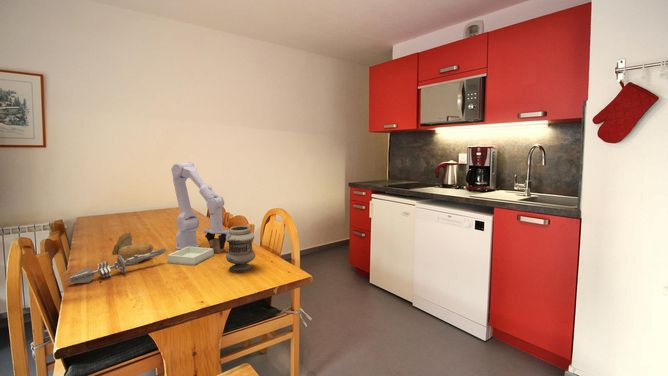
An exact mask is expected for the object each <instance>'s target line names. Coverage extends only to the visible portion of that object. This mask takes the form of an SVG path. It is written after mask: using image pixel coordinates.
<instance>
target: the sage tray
mask: <svg viewBox="0 0 668 376" xmlns="http://www.w3.org/2000/svg"><path fill="white" fill-rule="evenodd" d="M214 254H215V253H214V252H213V248H210V247H201V246H199V247H190V246H188V247H186V248H183V249H178V250H176V251H173V252H171V253H169V254H167V255H166V257H167V258H166V260H167V263H168V264H176V265H177V264H179V265H186V266H197V265H198V264H200V263H202V262H203V261H206V260H208V259H210V258H212V257H214Z"/></svg>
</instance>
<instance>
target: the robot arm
mask: <svg viewBox="0 0 668 376" xmlns="http://www.w3.org/2000/svg"><path fill="white" fill-rule="evenodd" d="M170 171H171V174H172V181H173V185H174V190H175V194H176V200H177V205H178V208H179V215H178V216H177V217H176V227H177V230H178V231H177V232H176V236H175V241H176V244H175V245H176V247H175V249H176V250H177V249H178V250H181V249H183V248H186V247H188V246H190V247H201V246H202V245H201V244H198V240H197V230H198V228H199V226H200V220H199V218H198V216H197V214H196V212H194V211H193V210H192V206H191V201H190V196H189V192H188V189H187V188H188V187H187V184H186V182H187V179H190V180H191V181H192V182H193V183H194V184H195V185H196V187H197V188H199V190H198V191H199V194H200V195H201V197H202V198H203V199H204V200H205V202H206V207H207V209H208V213H209V225H210V226H209V227H210V228H203V229H202V234H205V235H204V237H205V238H206V240H207V242H208V245H210V240H212V239H214V238H216V235H217V238H219V241H220V249H223V248H224V245H225V243H226V242H227V241H226V235H227V234H228V233H229V230H228V229H225V228H224V229H223V207H224V206H225V200H224V198H223V197H222V196H219V195H218V194H217V193H216V192H215V191H214V190H213V187H212V186H210V184H209V185H208V184H206V183H205V182H204V180H203V178H202V177H201V175H200V174H199V172H198V168H197V166H196V165H195V164H194V163H193V162H191V161H190V162H175V163H174V164H173V165H172V167H171V170H170Z"/></svg>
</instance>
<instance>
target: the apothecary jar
mask: <svg viewBox="0 0 668 376" xmlns="http://www.w3.org/2000/svg"><path fill="white" fill-rule="evenodd" d="M254 239H255V234H254V232H253V231H251V226H249V225H235V226H232V227H230V228H229V233H228V234H227V235H226V241H225V242H227V243H228V252H227V253H226V255H225V260H226V261H227V262H229V263H230V264H232V265H231V266H230V267H229V268H228V271H229V272H231V273H236V274H237V273H238V274H239V273H247V272H250V271H252V270H253V268H254V266H253V265H252V264H250V263H251V262H252V261H253V260H254V259H255V258H256V252H255V251H254V250H253V240H254Z"/></svg>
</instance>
